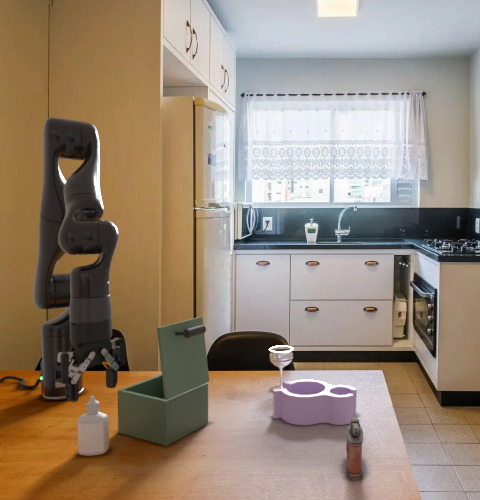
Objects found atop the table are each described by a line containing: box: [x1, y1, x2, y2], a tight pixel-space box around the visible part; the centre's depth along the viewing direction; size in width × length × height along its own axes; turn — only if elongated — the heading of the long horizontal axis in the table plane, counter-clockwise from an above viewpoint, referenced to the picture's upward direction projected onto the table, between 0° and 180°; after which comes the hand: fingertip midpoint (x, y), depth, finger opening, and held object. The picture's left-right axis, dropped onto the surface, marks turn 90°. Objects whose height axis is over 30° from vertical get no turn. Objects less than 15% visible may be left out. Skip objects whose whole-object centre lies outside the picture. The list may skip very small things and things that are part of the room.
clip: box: [272, 379, 357, 426], centre depth 124 cm, size 20×12×7 cm, turn 81°
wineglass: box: [268, 345, 294, 392], centre depth 141 cm, size 7×7×12 cm
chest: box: [117, 373, 209, 447], centre depth 114 cm, size 15×13×10 cm
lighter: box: [345, 416, 364, 481], centre depth 98 cm, size 8×3×10 cm, turn 5°
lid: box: [156, 316, 210, 400], centre depth 110 cm, size 16×13×5 cm
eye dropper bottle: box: [76, 395, 110, 457], centre depth 102 cm, size 4×6×12 cm
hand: (92, 394), depth 102 cm, fingers open, 8 cm apart
